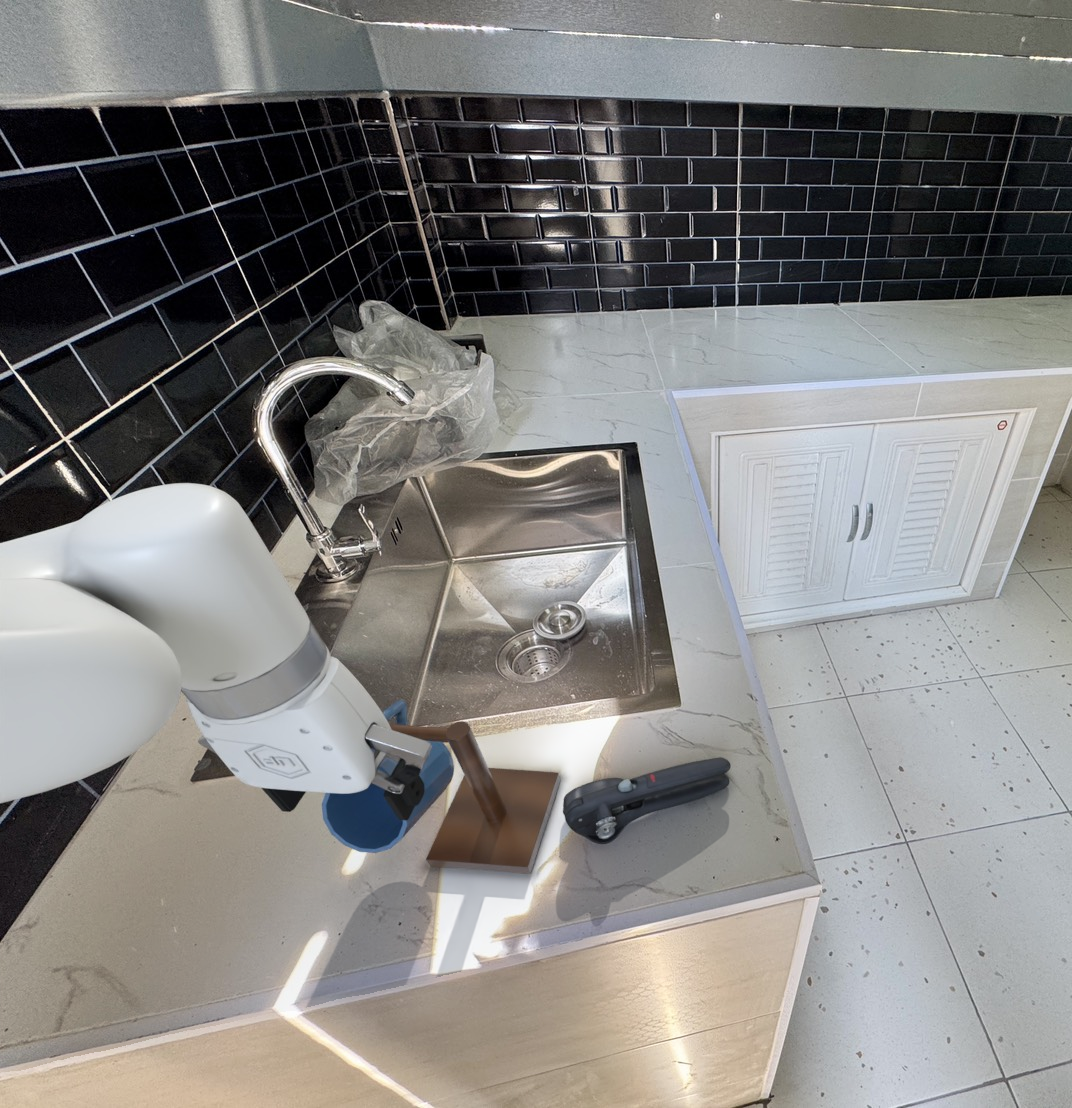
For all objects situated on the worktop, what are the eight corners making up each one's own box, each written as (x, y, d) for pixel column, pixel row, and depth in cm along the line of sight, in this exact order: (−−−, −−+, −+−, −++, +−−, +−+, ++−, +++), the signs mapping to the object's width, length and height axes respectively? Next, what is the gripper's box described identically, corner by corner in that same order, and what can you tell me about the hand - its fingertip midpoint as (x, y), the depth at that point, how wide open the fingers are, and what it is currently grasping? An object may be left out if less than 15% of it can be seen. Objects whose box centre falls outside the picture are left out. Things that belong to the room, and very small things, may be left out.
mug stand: (530, 874, 58) (491, 787, 48) (360, 861, 59) (287, 773, 49) (560, 779, 66) (532, 688, 56) (410, 769, 67) (355, 677, 57)
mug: (456, 799, 60) (409, 855, 52) (383, 794, 60) (326, 849, 52) (450, 693, 57) (400, 735, 50) (374, 688, 58) (313, 729, 50)
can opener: (570, 863, 59) (561, 835, 56) (563, 799, 64) (554, 770, 61) (741, 810, 64) (742, 781, 60) (721, 754, 69) (721, 725, 65)
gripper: (78, 702, 37) (223, 836, 48) (353, 720, 36) (437, 852, 47) (175, 615, 43) (285, 752, 53) (413, 630, 42) (475, 765, 53)
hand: (356, 799), depth 50 cm, fingers open, 9 cm apart
